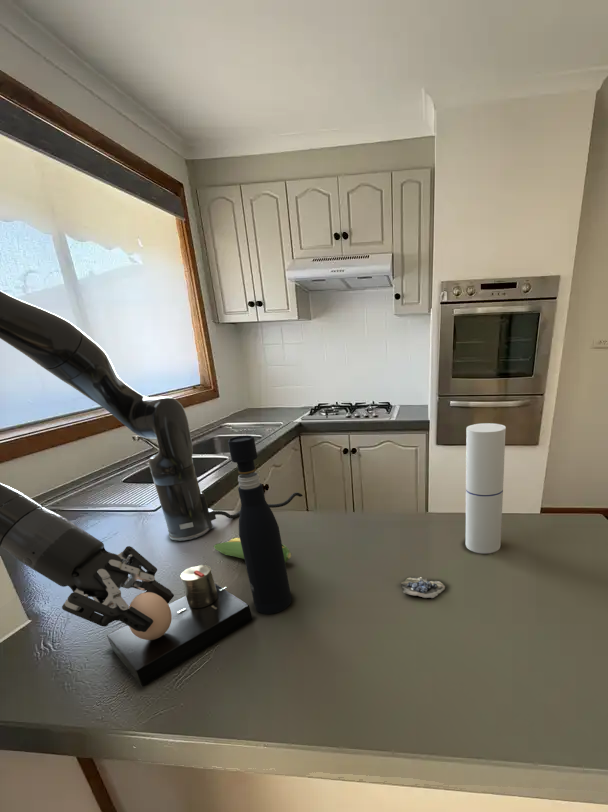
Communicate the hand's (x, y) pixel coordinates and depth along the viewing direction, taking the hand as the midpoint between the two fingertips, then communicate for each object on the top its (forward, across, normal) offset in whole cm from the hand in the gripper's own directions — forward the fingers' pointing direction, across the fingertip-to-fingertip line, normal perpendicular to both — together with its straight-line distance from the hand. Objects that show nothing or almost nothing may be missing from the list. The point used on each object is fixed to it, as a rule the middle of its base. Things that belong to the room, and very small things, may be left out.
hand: (160, 612), depth 63 cm
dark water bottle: (+14, +11, -4) cm, 19 cm away
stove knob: (+4, +9, +2) cm, 10 cm away
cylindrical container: (+43, +28, -32) cm, 61 cm away
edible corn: (+8, +28, +2) cm, 29 cm away
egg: (+2, 0, +4) cm, 5 cm away
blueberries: (+33, +14, -23) cm, 43 cm away
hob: (+5, +4, +5) cm, 8 cm away
